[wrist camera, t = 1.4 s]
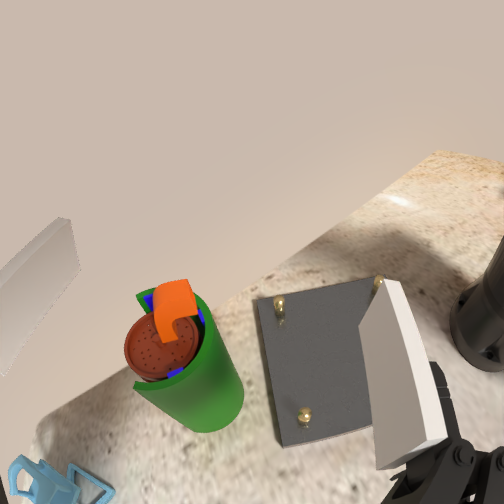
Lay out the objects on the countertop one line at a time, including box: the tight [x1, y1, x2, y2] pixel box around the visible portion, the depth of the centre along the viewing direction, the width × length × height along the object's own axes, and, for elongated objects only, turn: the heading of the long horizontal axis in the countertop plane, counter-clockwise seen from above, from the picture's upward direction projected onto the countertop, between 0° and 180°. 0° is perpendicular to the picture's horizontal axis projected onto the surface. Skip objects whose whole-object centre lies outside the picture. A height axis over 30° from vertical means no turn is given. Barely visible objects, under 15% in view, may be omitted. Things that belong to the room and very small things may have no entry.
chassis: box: [257, 274, 387, 449], centre depth 33 cm, size 20×21×4 cm
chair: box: [8, 454, 116, 504], centre depth 17 cm, size 8×8×12 cm
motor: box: [124, 279, 244, 433], centre depth 26 cm, size 10×9×20 cm
